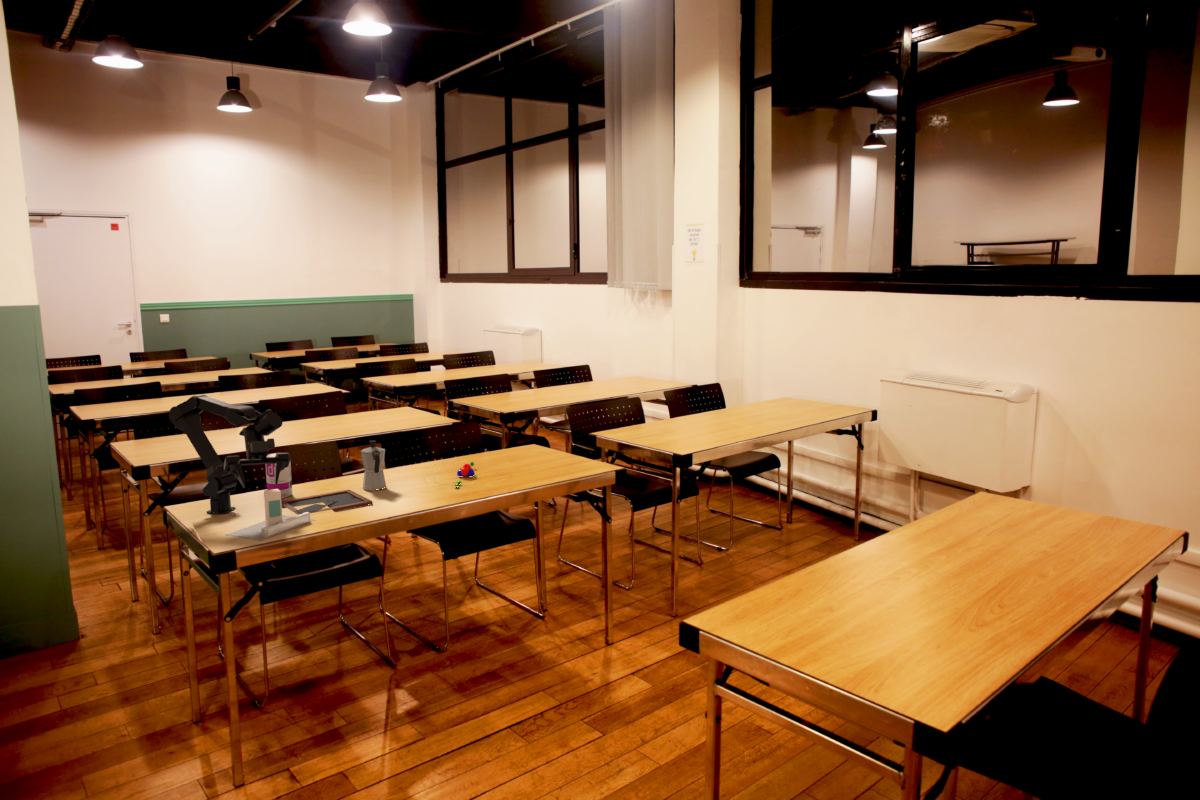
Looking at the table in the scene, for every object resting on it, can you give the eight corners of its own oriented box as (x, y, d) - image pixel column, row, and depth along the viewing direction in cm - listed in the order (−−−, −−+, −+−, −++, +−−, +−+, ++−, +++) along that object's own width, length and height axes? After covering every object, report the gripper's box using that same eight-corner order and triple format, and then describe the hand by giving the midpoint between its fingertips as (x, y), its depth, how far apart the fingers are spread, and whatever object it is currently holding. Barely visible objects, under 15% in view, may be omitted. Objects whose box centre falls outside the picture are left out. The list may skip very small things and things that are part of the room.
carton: (266, 527, 233) (263, 490, 231) (279, 524, 235) (277, 488, 234) (269, 530, 230) (266, 493, 228) (283, 528, 232) (280, 491, 230)
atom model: (502, 493, 283) (502, 479, 282) (410, 489, 283) (410, 474, 282) (514, 467, 317) (514, 454, 316) (433, 463, 317) (433, 450, 316)
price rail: (261, 538, 223) (261, 528, 222) (307, 521, 239) (306, 511, 239) (265, 538, 222) (264, 528, 222) (310, 521, 238) (310, 512, 238)
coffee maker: (359, 485, 286) (357, 438, 284) (382, 482, 290) (381, 436, 288) (366, 494, 273) (364, 445, 271) (391, 492, 277) (389, 443, 275)
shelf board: (225, 537, 226) (225, 534, 225) (282, 517, 246) (282, 514, 246) (260, 544, 220) (260, 540, 220) (315, 523, 240) (315, 520, 240)
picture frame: (299, 520, 245) (372, 506, 262) (298, 514, 245) (372, 500, 261) (278, 506, 260) (349, 494, 277) (278, 500, 260) (349, 488, 276)
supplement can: (283, 499, 267) (281, 457, 265) (262, 498, 268) (260, 456, 266) (297, 493, 275) (294, 453, 272) (276, 492, 276) (274, 451, 274)
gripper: (225, 430, 232) (230, 476, 225) (290, 428, 242) (297, 471, 235) (221, 448, 240) (226, 493, 233) (284, 445, 250) (290, 487, 243)
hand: (260, 485), depth 236 cm, fingers open, 9 cm apart
